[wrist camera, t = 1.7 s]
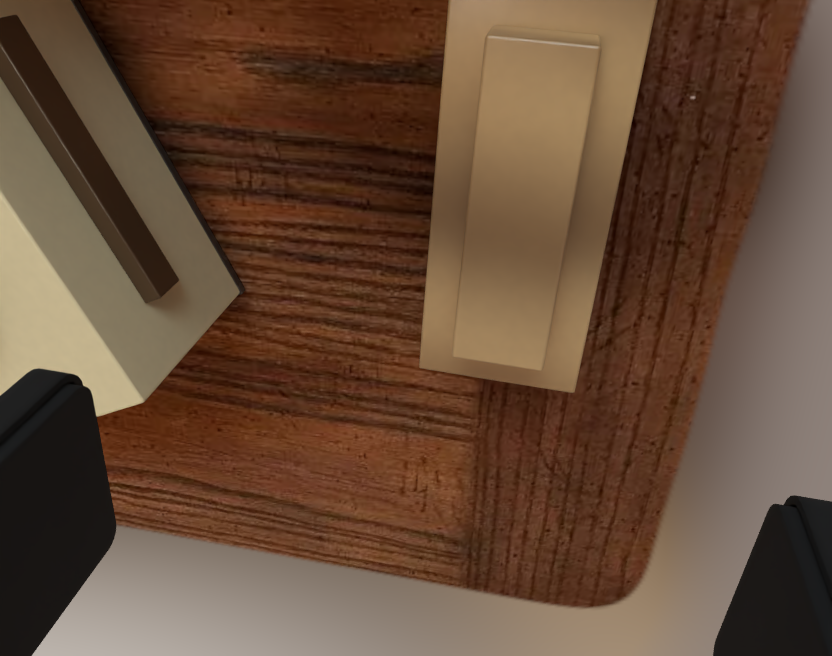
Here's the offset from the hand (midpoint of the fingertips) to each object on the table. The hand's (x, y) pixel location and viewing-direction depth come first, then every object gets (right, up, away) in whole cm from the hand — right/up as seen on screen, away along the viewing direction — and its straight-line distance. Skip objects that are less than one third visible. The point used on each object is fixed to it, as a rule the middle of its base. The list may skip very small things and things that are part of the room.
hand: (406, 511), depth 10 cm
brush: (+3, +8, +12) cm, 14 cm away
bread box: (-12, +8, +15) cm, 21 cm away
